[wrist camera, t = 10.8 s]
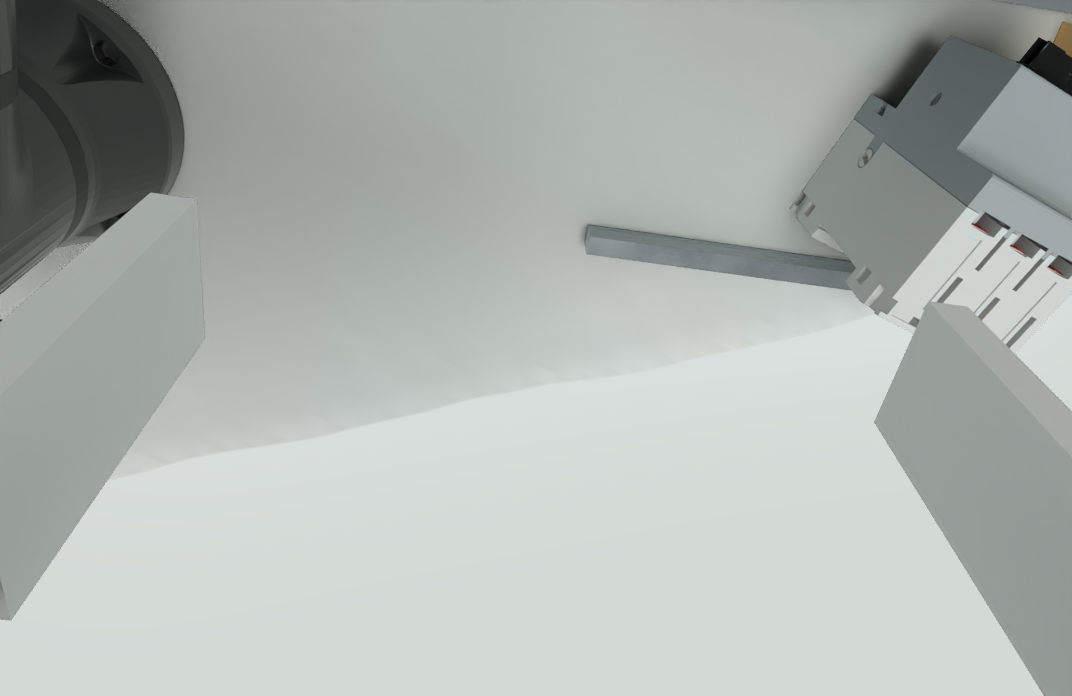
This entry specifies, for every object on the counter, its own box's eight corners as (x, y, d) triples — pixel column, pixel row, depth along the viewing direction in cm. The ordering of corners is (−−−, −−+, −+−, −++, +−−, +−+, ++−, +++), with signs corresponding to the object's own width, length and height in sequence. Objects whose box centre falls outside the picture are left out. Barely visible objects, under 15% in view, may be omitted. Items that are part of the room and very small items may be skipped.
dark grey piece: (584, 241, 54) (606, 394, 38) (656, -124, 43) (726, -119, 27) (945, 291, 56) (1106, 456, 40) (1098, -46, 45) (1397, -1, 29)
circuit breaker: (1039, 59, 48) (1227, 129, 35) (881, 257, 54) (990, 379, 41) (940, -5, 46) (1100, 45, 33) (789, 208, 52) (874, 319, 40)
